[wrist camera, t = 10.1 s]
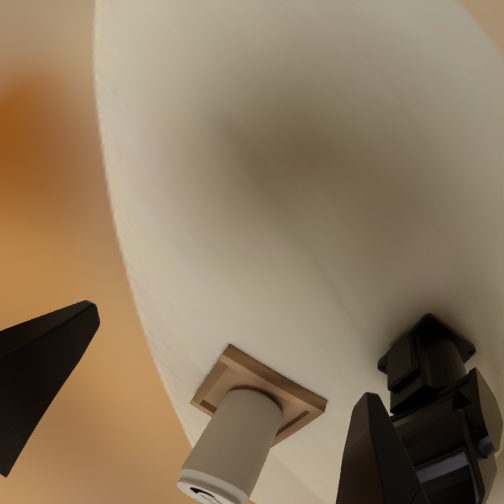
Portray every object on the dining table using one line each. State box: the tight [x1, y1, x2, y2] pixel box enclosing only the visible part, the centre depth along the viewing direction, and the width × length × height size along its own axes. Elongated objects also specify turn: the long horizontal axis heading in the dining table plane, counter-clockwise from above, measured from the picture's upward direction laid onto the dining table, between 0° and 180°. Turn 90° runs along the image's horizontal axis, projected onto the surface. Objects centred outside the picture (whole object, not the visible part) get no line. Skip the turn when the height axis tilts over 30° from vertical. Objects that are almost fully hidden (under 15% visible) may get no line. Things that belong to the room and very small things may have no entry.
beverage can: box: [177, 389, 282, 504], centre depth 23 cm, size 6×6×12 cm
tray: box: [190, 344, 327, 447], centre depth 28 cm, size 11×11×2 cm
